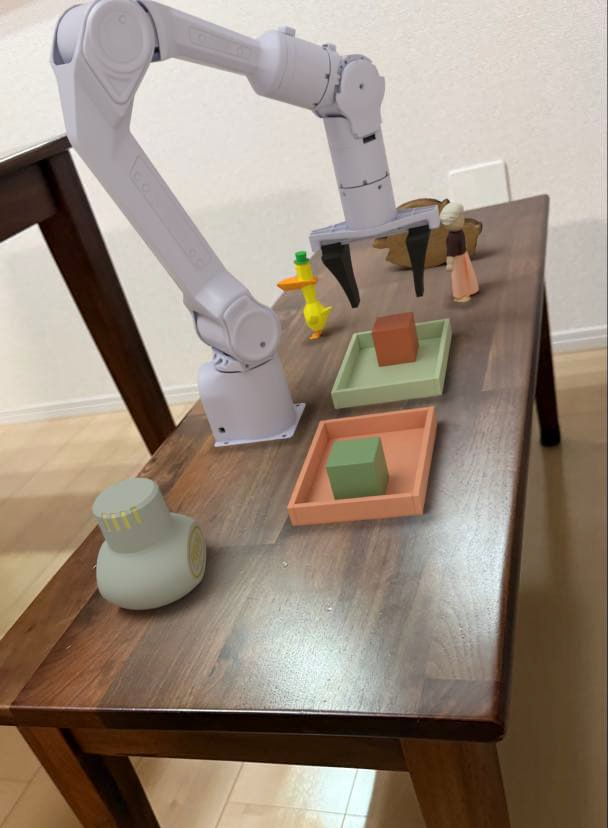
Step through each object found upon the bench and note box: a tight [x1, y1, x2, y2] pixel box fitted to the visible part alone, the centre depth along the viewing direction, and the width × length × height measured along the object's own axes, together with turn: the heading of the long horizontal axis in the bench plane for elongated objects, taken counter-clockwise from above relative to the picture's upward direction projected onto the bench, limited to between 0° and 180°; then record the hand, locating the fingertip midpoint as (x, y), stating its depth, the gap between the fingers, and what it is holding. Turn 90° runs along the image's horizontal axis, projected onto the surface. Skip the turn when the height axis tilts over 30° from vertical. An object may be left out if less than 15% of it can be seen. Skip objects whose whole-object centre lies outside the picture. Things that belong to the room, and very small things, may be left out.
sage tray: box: [330, 317, 453, 410], centre depth 99 cm, size 12×16×3 cm
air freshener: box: [91, 477, 207, 611], centre depth 74 cm, size 11×8×10 cm
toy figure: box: [276, 250, 333, 340], centre depth 112 cm, size 7×4×12 cm, turn 73°
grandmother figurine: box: [440, 202, 480, 303], centre depth 110 cm, size 8×4×13 cm, turn 168°
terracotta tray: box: [286, 405, 438, 527], centre depth 82 cm, size 12×16×3 cm
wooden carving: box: [371, 197, 484, 269], centre depth 125 cm, size 16×5×10 cm, turn 77°
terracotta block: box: [371, 311, 419, 367], centre depth 101 cm, size 4×4×4 cm
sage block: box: [326, 436, 389, 500], centre depth 78 cm, size 4×4×4 cm
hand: (388, 299), depth 98 cm, fingers open, 7 cm apart
